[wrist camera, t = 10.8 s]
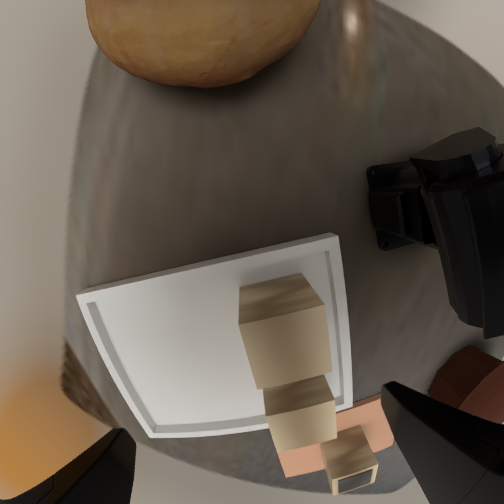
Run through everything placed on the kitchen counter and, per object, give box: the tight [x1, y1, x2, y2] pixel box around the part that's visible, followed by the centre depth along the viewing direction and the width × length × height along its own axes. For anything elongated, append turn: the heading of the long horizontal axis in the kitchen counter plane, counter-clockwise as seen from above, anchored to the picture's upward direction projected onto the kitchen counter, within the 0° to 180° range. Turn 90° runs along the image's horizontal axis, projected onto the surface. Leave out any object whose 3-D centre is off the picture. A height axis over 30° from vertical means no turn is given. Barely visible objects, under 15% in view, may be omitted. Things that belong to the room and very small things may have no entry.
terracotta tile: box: [278, 393, 394, 477], centre depth 24 cm, size 14×11×1 cm
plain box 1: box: [238, 273, 333, 390], centre depth 17 cm, size 4×4×6 cm
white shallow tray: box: [76, 232, 353, 438], centre depth 20 cm, size 20×16×2 cm
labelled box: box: [320, 425, 378, 496], centre depth 20 cm, size 4×4×6 cm
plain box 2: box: [263, 374, 337, 453], centre depth 18 cm, size 4×4×6 cm
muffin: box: [428, 345, 504, 424], centre depth 19 cm, size 12×11×10 cm
